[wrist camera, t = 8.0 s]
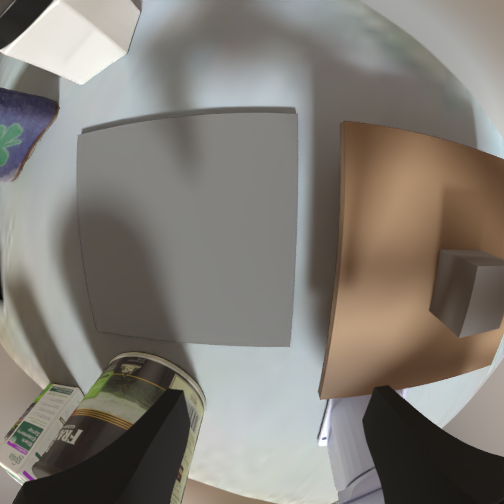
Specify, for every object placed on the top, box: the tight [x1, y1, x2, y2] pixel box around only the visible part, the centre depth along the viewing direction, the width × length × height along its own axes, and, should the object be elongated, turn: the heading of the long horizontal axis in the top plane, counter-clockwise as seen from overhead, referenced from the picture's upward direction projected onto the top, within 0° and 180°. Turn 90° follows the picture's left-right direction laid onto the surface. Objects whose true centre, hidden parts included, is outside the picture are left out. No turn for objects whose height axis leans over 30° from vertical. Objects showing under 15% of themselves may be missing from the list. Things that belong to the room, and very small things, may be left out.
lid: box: [318, 121, 504, 400], centre depth 11 cm, size 15×15×4 cm
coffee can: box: [32, 352, 206, 504], centre depth 15 cm, size 10×10×14 cm
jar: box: [0, 0, 140, 85], centre depth 9 cm, size 9×8×12 cm
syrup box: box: [0, 383, 85, 486], centre depth 17 cm, size 6×6×14 cm
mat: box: [77, 113, 298, 347], centre depth 18 cm, size 16×16×1 cm
